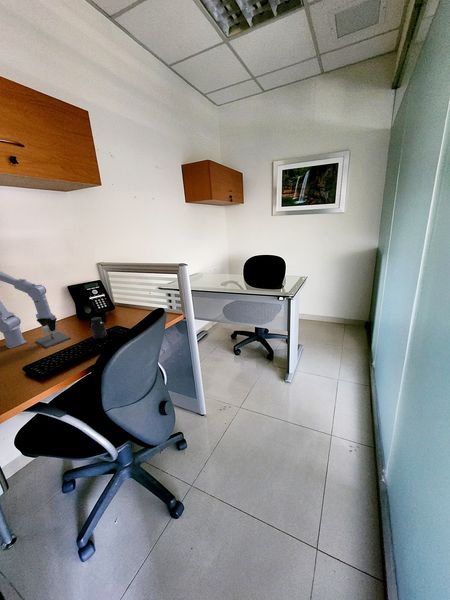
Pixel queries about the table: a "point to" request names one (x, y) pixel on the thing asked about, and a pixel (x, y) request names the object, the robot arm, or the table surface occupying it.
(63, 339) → the junction plate
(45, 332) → the collar
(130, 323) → the table surface
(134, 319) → the table surface
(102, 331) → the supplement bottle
